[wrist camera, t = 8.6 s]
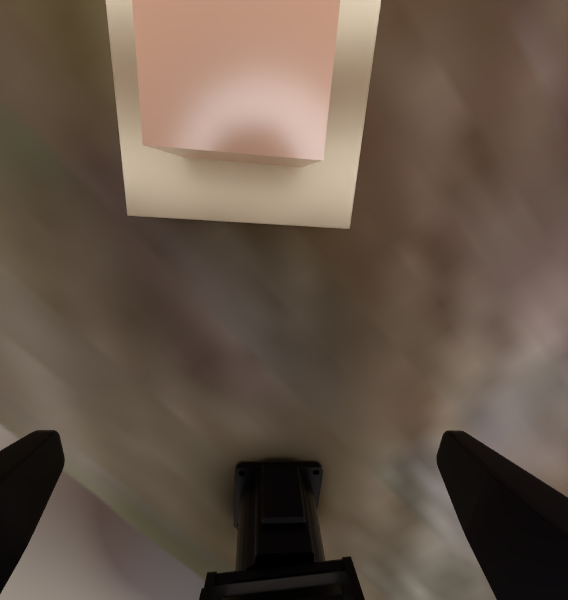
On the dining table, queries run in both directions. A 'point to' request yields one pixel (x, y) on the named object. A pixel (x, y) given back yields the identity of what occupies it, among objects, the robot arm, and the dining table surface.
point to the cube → (236, 78)
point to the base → (249, 176)
